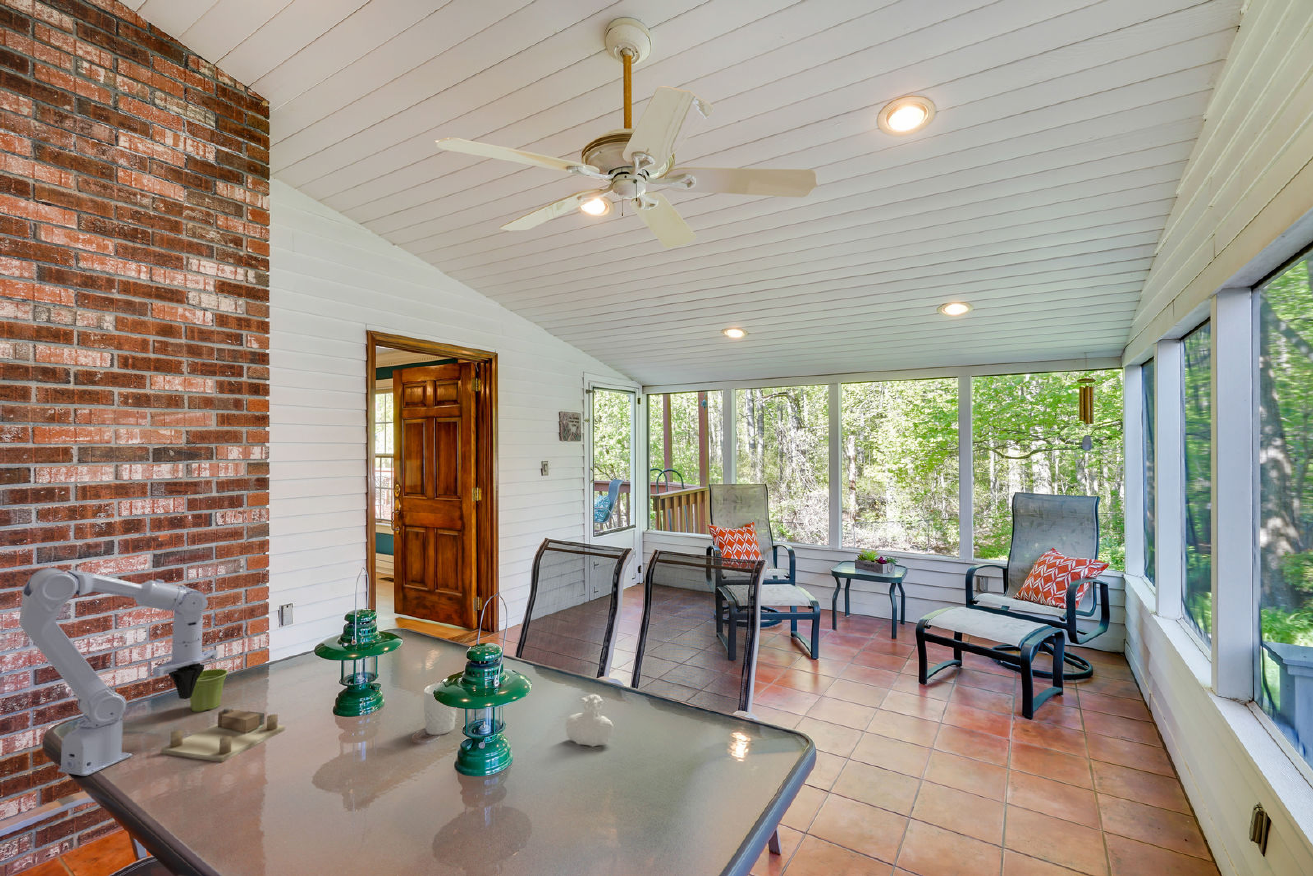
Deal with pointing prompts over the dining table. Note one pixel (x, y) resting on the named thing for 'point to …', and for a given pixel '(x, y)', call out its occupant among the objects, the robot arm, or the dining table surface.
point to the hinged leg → (238, 720)
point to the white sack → (589, 724)
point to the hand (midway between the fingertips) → (185, 697)
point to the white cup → (437, 714)
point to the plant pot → (208, 690)
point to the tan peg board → (221, 740)
